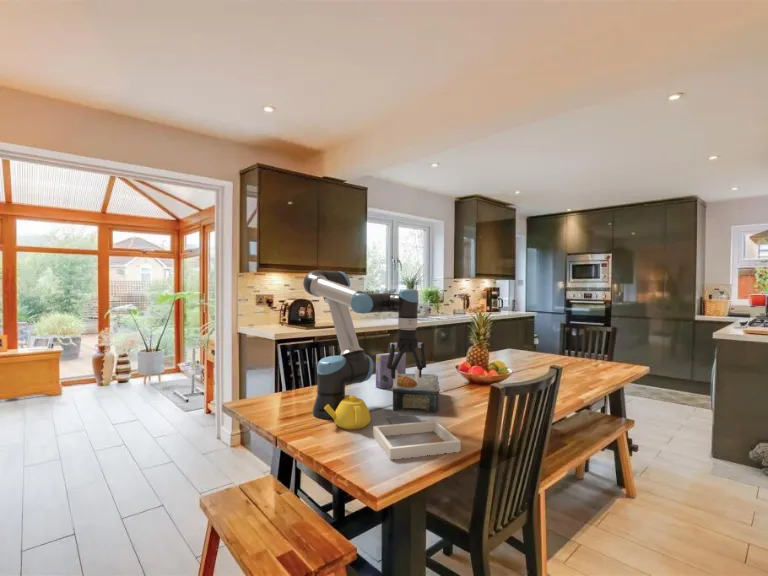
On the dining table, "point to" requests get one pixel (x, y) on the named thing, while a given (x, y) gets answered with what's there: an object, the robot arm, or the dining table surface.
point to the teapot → (350, 413)
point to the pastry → (406, 382)
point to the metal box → (418, 395)
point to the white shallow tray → (420, 449)
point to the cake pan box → (383, 372)
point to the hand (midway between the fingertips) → (406, 386)
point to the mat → (403, 419)
